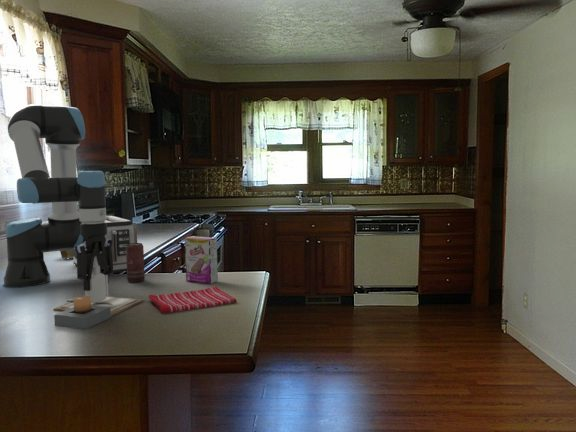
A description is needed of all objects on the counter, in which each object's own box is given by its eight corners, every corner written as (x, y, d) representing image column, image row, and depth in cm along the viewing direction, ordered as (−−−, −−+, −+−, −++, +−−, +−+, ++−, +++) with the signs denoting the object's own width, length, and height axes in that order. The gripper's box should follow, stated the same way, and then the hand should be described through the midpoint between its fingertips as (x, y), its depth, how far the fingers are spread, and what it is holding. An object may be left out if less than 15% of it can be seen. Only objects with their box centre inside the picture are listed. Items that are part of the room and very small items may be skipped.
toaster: (91, 277, 185) (89, 225, 183) (71, 263, 213) (68, 217, 211) (141, 271, 197) (139, 221, 194) (115, 258, 224) (113, 215, 222)
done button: (70, 310, 130) (69, 299, 129) (81, 306, 134) (81, 295, 134) (83, 312, 128) (83, 301, 128) (95, 307, 133) (94, 296, 132)
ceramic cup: (83, 258, 225) (82, 237, 224) (59, 260, 219) (58, 239, 218) (77, 254, 236) (76, 234, 235) (55, 256, 230) (54, 236, 229)
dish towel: (147, 302, 152) (147, 293, 152) (218, 292, 163) (218, 284, 163) (160, 316, 137) (159, 307, 137) (237, 304, 148) (237, 296, 148)
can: (140, 283, 175) (138, 245, 174) (124, 282, 176) (122, 244, 175) (148, 279, 181) (146, 242, 180) (132, 278, 182) (131, 242, 181)
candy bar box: (185, 281, 177) (184, 237, 175) (193, 278, 182) (192, 235, 180) (210, 284, 172) (209, 239, 171) (218, 281, 177) (217, 237, 175)
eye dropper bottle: (85, 300, 146) (83, 262, 145) (104, 297, 150) (102, 259, 149) (89, 303, 143) (87, 264, 142) (109, 300, 146) (107, 261, 145)
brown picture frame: (49, 310, 142) (49, 306, 142) (87, 296, 158) (87, 292, 158) (110, 316, 136) (110, 312, 136) (143, 301, 151) (143, 297, 151)
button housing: (54, 325, 128) (54, 314, 128) (81, 314, 138) (81, 304, 137) (85, 329, 125) (84, 317, 125) (110, 317, 135) (110, 307, 134)
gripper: (81, 226, 134) (85, 307, 136) (123, 219, 152) (126, 291, 154) (59, 225, 137) (64, 305, 139) (103, 218, 154) (107, 289, 156)
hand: (97, 297), depth 146 cm, fingers closed on eye dropper bottle, 6 cm apart
